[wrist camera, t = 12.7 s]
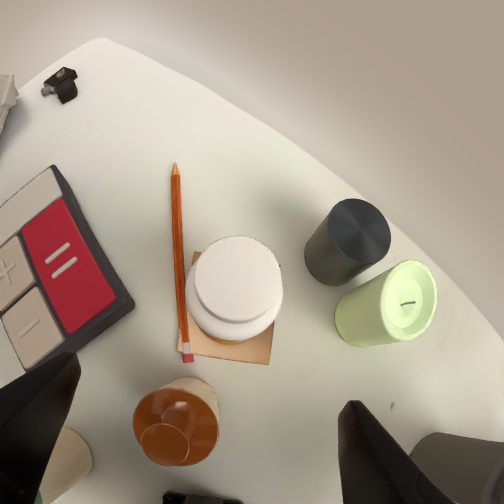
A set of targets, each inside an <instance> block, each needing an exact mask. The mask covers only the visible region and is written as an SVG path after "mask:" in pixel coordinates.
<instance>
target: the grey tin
mask: <svg viewBox="0 0 504 504" xmlns="http://www.w3.org/2000/svg"><path fill="white" fill-rule="evenodd" d="M390 243H391V234H390V229H389V226H388V223H387V221H386V219H385V218H384V216H383V215H382V213H381V212H380V211H379V210H378V209H377V208H376V207H374V206H373V205H372V204H370V203H368V202H366V201H364V200H360V199H346V200H343V201H340V202H339V203H337V204H336V205H335V206H334V207H333V208H332V210H331V211H330V212H329V214H328V215H327V216H326V218H325V219H324V221H323V222H322V223H321V225H320V226H319V227H318V229H317V230H316V231H315V233H314V234H313V235H312V237H311V238H310V239H309V241H308V242H307V245H306V248H305V262H306V265H307V268H308V269H309V271H310V273H311V274H312V275H313V276H314V277H315V278H316V279H317V280H319V281H320V282H322V283H324V284H327V285H334V286H335V285H341V284H344V283H346V282H348V281H349V280H351V279H352V278H354V277H356V276H357V275H359V274H360V273H362V272H363V271H365V270H366V269H368V268H369V267H371V266H373V265H374V264H376V263H377V262H379V261H380V260H381V259H383V258H384V256H385V255H386V254H387V252H388V250H389V247H390Z"/></svg>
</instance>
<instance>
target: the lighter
mask: <svg viewBox="0 0 504 504" xmlns="http://www.w3.org/2000/svg"><path fill="white" fill-rule="evenodd" d="M75 78H77V74H76V71H75V70H72V69H69V68H66V67H62V68H61V69H60V70H59V71H57V72H56V73H55V74H54V75H52V76H51V77H50V78H48V79H47V80H46V81H45V82H44V83H43V84H44V86H45V87H44V88H42V90H41V92H42V95H44V96H45V95H47V94H48V93H49V92H50V91H51V92H54V93H57V95H58V98H59V100H60V101H61V103H62V104H64V103H66V102H67V101H69V100H71V99H73V98H75V97H76V96H77V93H78V91H77V87H76V85H75V82H74V81H73V80H74V79H75Z"/></svg>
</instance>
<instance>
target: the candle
mask: <svg viewBox="0 0 504 504" xmlns="http://www.w3.org/2000/svg"><path fill="white" fill-rule="evenodd" d="M436 304H437V290H436V284H435V281H434V278H433V276H432V274H431V272H430V271H429V269H428V268H427V267H426V266H425V265H424V264H423V263H420V262H418V261H416V260H407V261H404V262H401V263H399V264H397V265H396V266H394V267H392V268H391V269H389V270H387V271H385V272H384V273H382V274H380V275H378V276H377V277H375V278H373V279H371V280H370V281H368V282H366V283H364V284H363V285H361V286H359V287H357V288H355V289H353V290H352V291H350V292H348V293H347V294H345V295H344V296H343V297H342V298H341V300H340V301H339V303H338V305H337V307H336V312H335V324H336V327H337V330H338V332H339V334H340V336H341V337H342V338H343V339H344V340H345V341H346V342H347V343H349V344H351V345H352V346H357V347H367V346H375V345H382V344H390V343H397V342H403V341H410V340H412V339H414V338H417V337H418V336H419V335H421V334H422V333H423V332H424V331H425V330H426V328H427V327H428V326H429V324H430V322H431V320H432V318H433V316H434V312H435V308H436Z"/></svg>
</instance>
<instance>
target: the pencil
mask: <svg viewBox="0 0 504 504" xmlns="http://www.w3.org/2000/svg"><path fill="white" fill-rule="evenodd" d="M171 198H172V232H173V254H174V270H175V285H176V297H177V309H178V320H179V330H180V329H181V338H182V347H183V352H182V356H183V362H184V363H188V362H194V359H193V354H191V348H190V340H189V331H188V321H187V312H186V301H185V285H186V284H185V271H184V257H183V242H182V223H181V199H180V175H179V171H178V168H177V164H176V162H175V164H174V168H173V172H172V176H171Z"/></svg>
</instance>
